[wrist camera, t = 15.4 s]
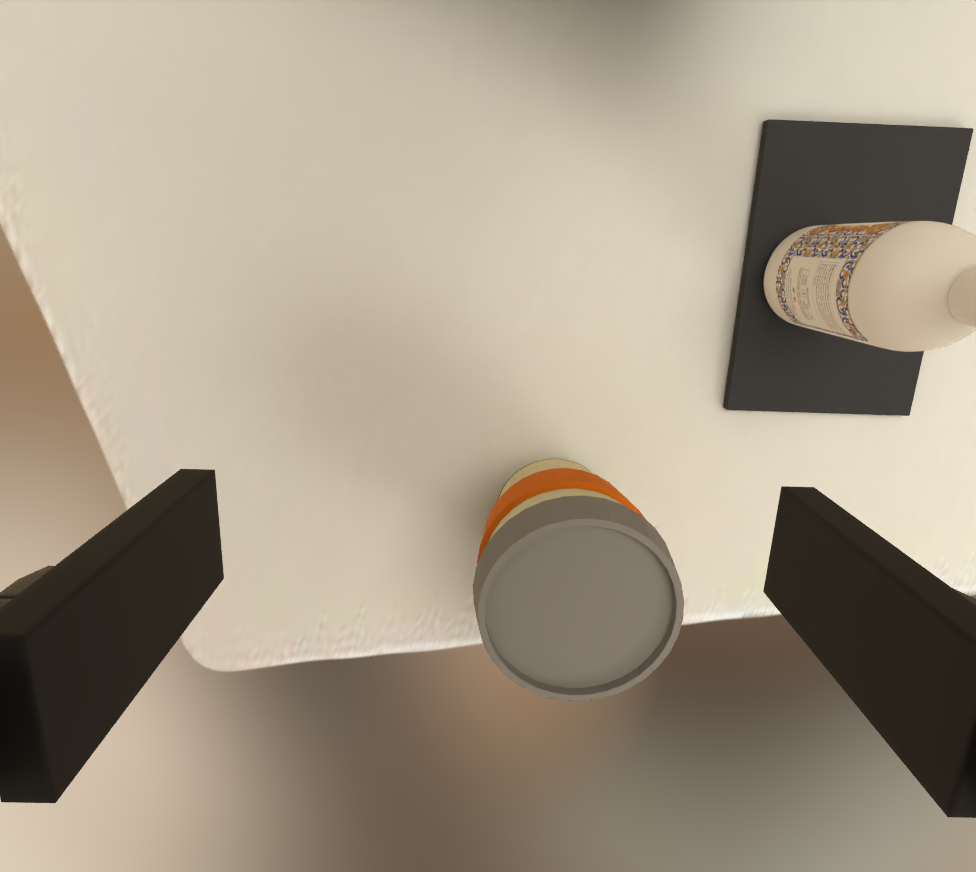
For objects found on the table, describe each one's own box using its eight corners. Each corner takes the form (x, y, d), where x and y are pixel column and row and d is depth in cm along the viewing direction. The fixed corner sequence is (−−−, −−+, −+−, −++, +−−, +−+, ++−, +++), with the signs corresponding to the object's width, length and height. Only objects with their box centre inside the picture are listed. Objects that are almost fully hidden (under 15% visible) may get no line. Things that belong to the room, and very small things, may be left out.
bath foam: (874, 241, 47) (1153, 242, 27) (833, 336, 48) (1068, 399, 29) (783, 212, 46) (1004, 193, 27) (745, 310, 48) (926, 357, 29)
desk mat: (763, 121, 45) (768, 119, 44) (965, 130, 45) (973, 128, 45) (723, 407, 51) (726, 409, 50) (903, 413, 51) (909, 415, 50)
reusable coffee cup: (540, 404, 50) (565, 470, 36) (663, 497, 53) (733, 594, 38) (442, 526, 53) (429, 633, 39) (563, 609, 55) (594, 739, 41)
